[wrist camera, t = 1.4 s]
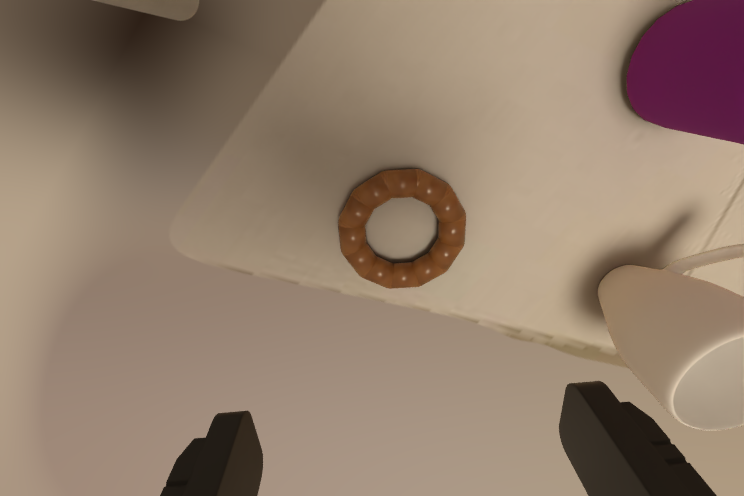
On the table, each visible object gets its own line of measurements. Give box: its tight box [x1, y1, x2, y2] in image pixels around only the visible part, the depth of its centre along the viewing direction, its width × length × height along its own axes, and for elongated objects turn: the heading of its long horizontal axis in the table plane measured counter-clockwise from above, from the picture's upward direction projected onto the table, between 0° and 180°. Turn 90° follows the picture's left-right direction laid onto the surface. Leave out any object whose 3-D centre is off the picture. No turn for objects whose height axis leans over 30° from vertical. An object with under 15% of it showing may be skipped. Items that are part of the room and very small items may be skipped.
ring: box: [338, 169, 466, 288], centre depth 29 cm, size 10×10×2 cm
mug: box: [598, 244, 744, 430], centre depth 28 cm, size 12×8×11 cm
